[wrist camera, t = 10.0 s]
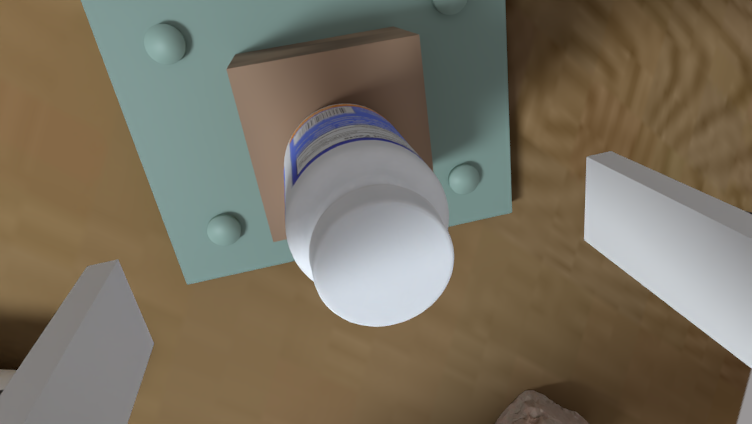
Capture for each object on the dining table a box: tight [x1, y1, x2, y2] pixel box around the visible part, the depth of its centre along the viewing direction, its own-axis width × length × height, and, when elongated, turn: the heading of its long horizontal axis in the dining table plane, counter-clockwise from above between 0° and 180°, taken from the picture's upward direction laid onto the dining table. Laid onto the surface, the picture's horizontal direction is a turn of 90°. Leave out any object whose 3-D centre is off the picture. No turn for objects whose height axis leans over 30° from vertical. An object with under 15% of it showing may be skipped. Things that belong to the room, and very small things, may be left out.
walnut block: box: [226, 26, 434, 242], centre depth 24 cm, size 8×8×5 cm
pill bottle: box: [284, 104, 454, 327], centre depth 18 cm, size 5×5×10 cm
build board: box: [81, 0, 512, 285], centre depth 27 cm, size 20×16×2 cm
